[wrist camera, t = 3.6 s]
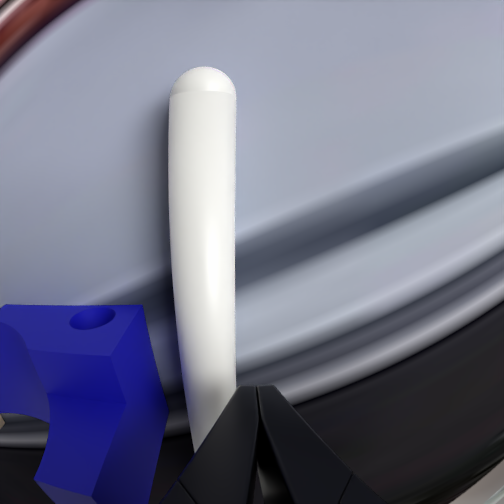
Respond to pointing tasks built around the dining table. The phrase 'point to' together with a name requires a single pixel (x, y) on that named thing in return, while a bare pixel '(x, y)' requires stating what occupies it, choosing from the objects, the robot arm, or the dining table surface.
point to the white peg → (203, 239)
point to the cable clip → (86, 397)
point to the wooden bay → (1, 422)
